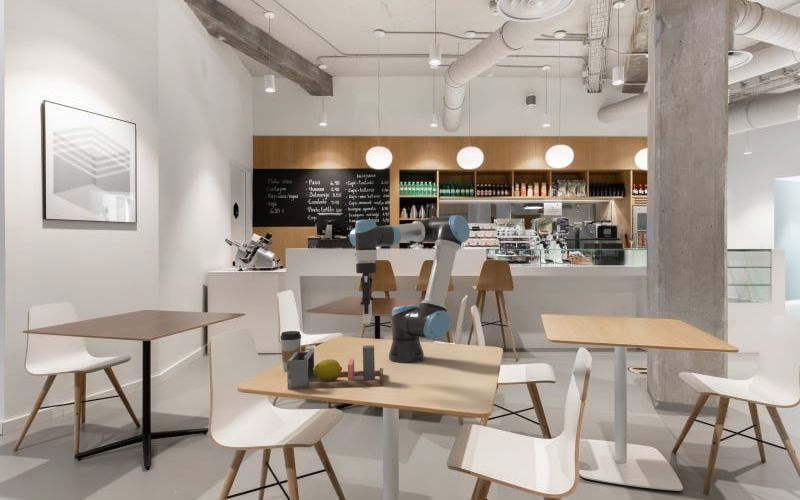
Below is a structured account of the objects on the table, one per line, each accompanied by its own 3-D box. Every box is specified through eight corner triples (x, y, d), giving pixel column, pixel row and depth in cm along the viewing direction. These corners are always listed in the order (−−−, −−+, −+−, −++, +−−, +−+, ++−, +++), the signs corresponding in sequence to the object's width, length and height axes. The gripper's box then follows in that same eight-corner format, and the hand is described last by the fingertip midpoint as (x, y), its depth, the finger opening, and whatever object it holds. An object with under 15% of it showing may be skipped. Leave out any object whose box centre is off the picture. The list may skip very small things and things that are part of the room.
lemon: (341, 377, 179) (340, 356, 179) (344, 383, 172) (344, 360, 172) (311, 380, 176) (311, 358, 176) (313, 386, 169) (313, 363, 169)
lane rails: (383, 374, 182) (382, 368, 182) (382, 385, 167) (382, 378, 167) (314, 376, 181) (314, 370, 181) (308, 388, 166) (307, 381, 166)
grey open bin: (314, 376, 181) (313, 348, 181) (307, 388, 166) (307, 357, 166) (296, 376, 181) (295, 348, 181) (287, 388, 166) (286, 358, 166)
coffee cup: (296, 372, 188) (296, 334, 188) (277, 372, 190) (276, 334, 190) (305, 367, 196) (304, 330, 196) (286, 366, 198) (285, 330, 198)
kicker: (375, 375, 179) (374, 343, 179) (374, 383, 169) (373, 349, 169) (350, 376, 179) (349, 344, 179) (348, 383, 169) (347, 350, 169)
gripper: (358, 261, 187) (359, 316, 187) (353, 263, 162) (354, 326, 162) (377, 261, 187) (378, 315, 187) (375, 262, 162) (377, 325, 162)
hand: (367, 320), depth 174 cm, fingers open, 13 cm apart
